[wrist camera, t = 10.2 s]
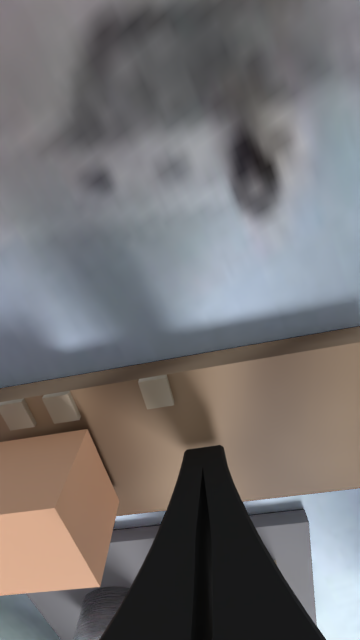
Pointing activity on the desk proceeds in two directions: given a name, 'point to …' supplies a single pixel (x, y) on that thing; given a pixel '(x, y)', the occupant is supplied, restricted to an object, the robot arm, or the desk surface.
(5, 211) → the desk surface
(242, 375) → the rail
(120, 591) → the grey cylinder
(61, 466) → the block
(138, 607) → the robot arm
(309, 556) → the mat
